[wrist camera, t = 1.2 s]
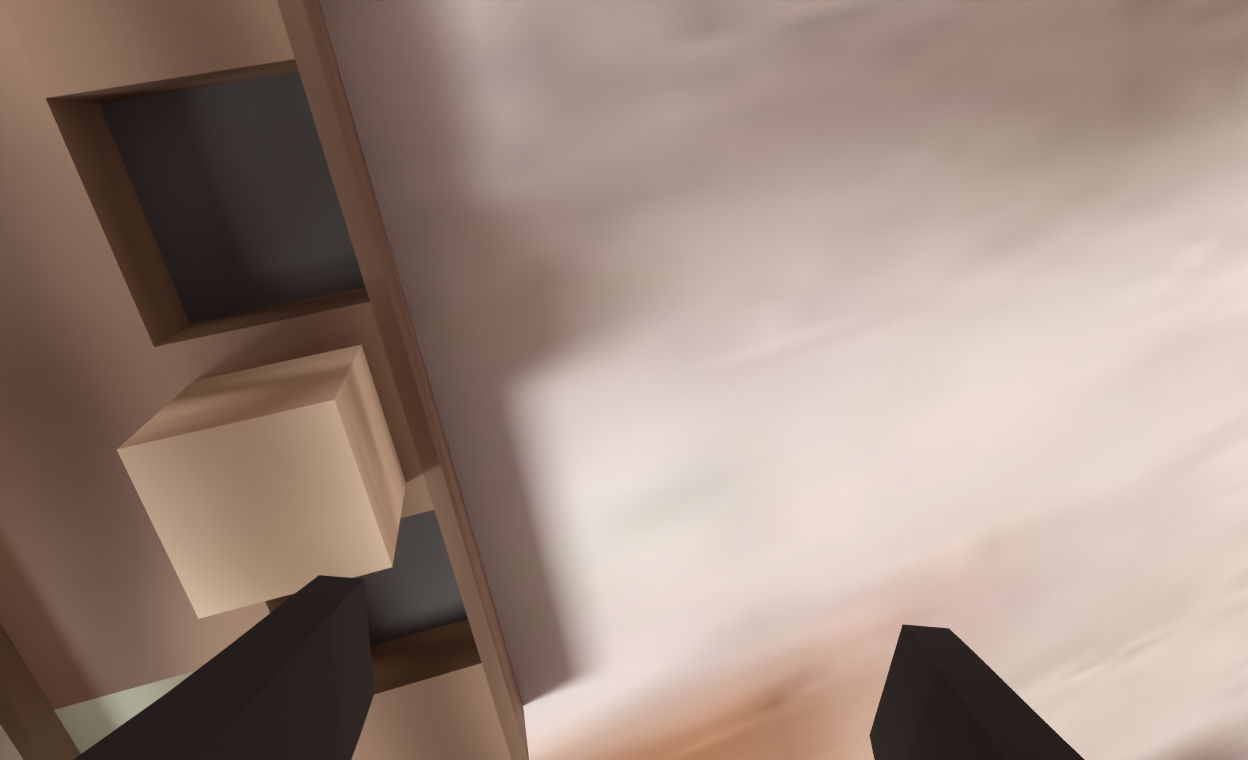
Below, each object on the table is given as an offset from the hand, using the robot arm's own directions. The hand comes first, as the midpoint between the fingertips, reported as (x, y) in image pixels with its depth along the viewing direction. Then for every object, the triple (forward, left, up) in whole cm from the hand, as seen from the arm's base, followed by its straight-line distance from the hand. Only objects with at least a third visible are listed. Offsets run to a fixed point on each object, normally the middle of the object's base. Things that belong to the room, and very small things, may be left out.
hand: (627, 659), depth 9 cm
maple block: (-6, +1, -10) cm, 12 cm away
